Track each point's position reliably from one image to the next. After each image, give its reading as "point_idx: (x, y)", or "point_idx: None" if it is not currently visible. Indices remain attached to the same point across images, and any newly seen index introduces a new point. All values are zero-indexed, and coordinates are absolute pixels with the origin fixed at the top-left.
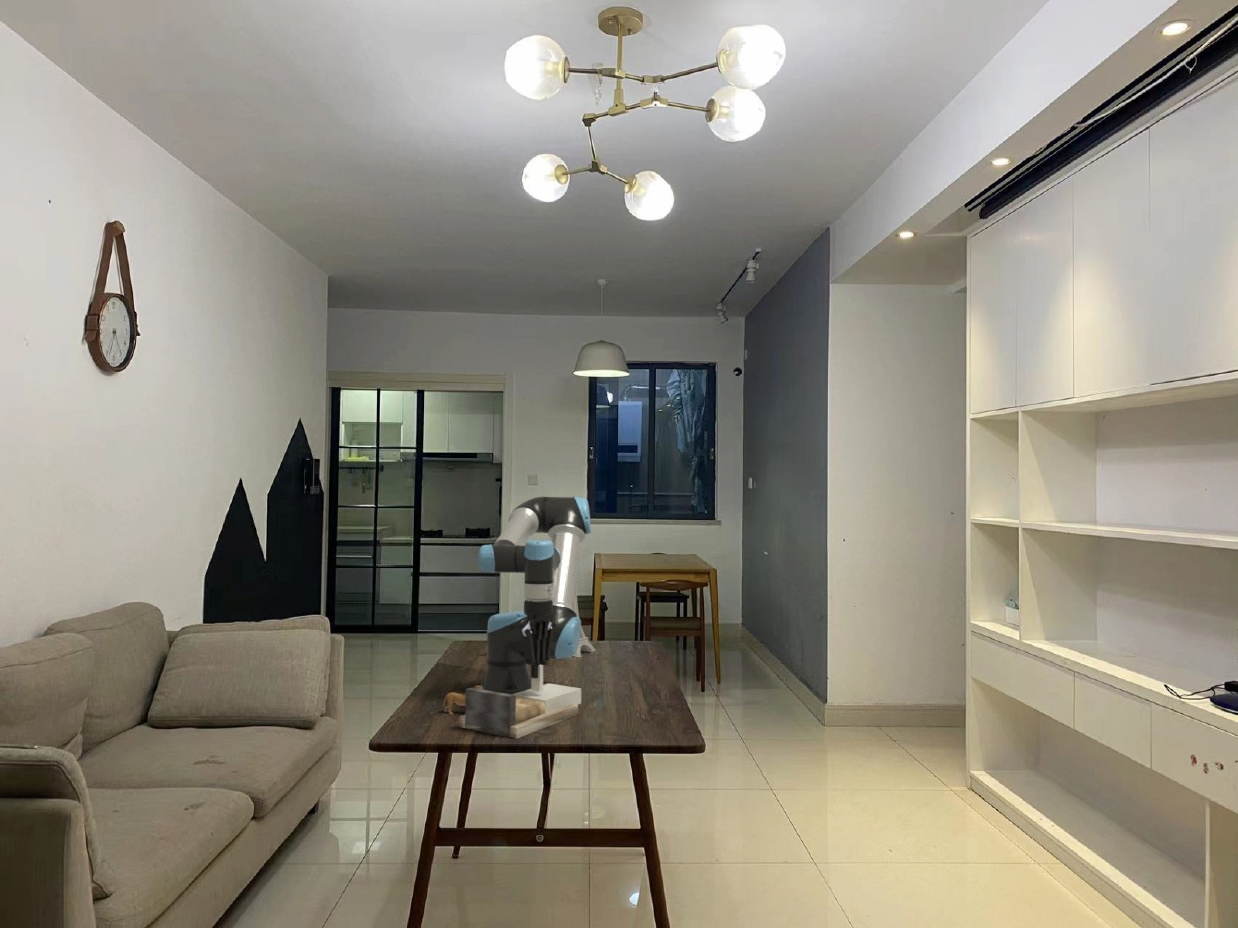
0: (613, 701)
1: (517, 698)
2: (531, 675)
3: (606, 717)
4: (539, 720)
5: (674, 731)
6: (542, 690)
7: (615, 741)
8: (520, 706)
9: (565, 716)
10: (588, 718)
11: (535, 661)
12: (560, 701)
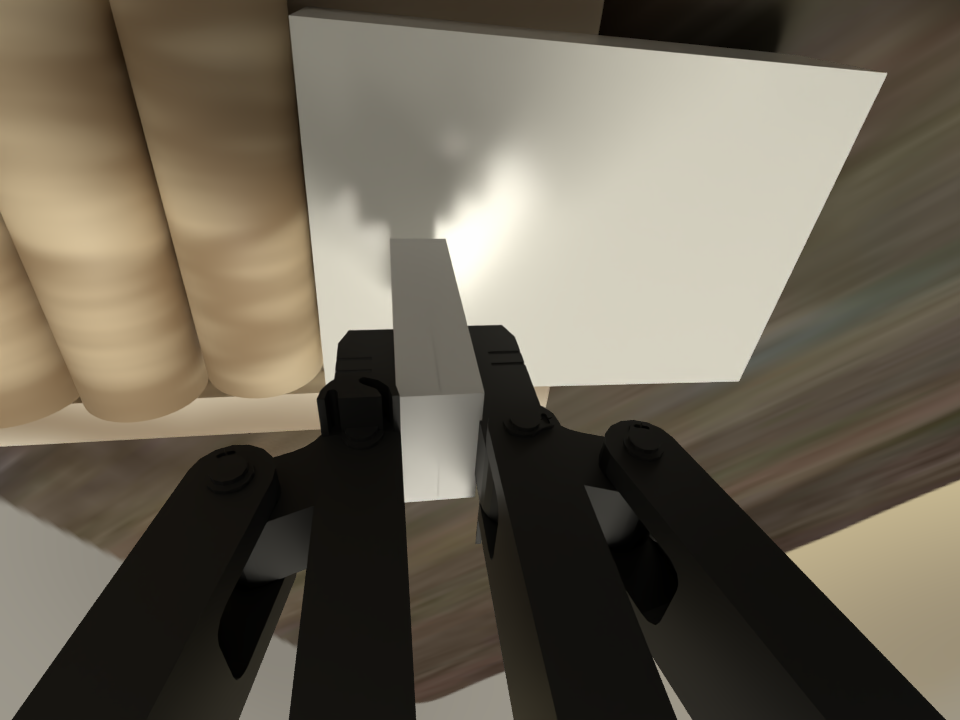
0: (834, 372)
1: (207, 182)
2: (336, 357)
3: None
4: (140, 435)
5: (488, 654)
6: (593, 195)
7: (280, 628)
8: (64, 342)
9: None
10: None
11: (290, 578)
12: None
